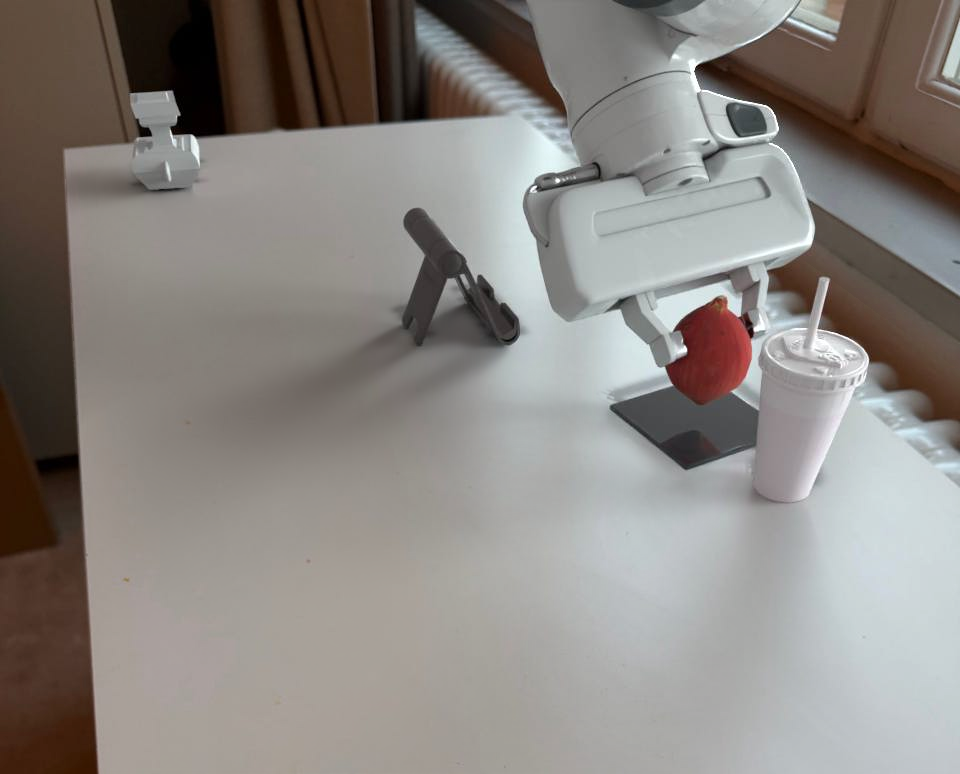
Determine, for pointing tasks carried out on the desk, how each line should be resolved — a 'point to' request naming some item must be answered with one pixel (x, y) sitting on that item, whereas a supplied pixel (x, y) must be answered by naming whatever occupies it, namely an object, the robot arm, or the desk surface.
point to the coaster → (691, 425)
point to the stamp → (162, 144)
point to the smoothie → (802, 403)
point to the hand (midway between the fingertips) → (716, 350)
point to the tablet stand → (434, 273)
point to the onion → (711, 353)
